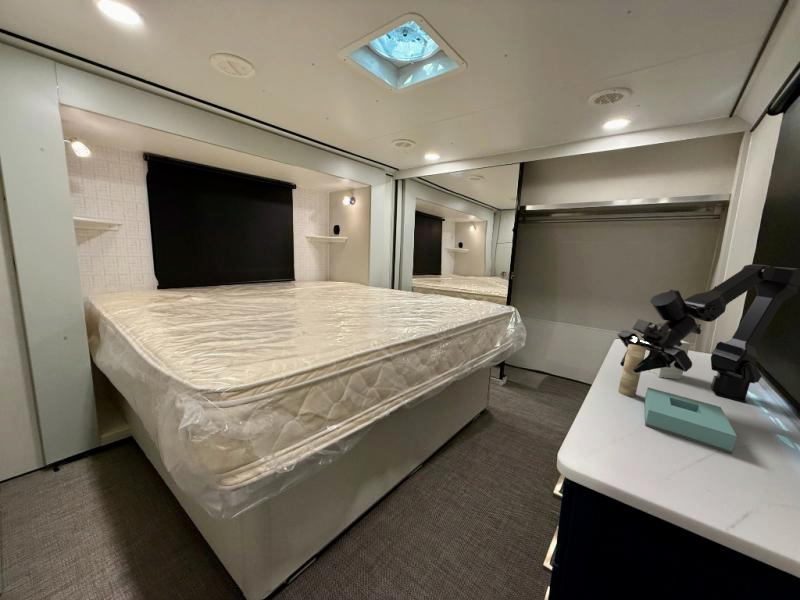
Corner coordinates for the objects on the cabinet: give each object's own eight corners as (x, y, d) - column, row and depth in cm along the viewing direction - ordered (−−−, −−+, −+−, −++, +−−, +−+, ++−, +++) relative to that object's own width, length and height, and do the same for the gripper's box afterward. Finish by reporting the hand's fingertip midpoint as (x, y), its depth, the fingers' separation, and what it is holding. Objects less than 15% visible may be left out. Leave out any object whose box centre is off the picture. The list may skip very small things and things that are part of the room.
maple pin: (635, 393, 88) (646, 346, 85) (635, 398, 85) (646, 350, 82) (618, 388, 90) (628, 343, 88) (617, 393, 87) (628, 346, 85)
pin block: (716, 421, 75) (720, 406, 74) (731, 453, 63) (736, 436, 62) (644, 400, 84) (647, 387, 83) (645, 425, 71) (648, 409, 70)
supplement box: (665, 370, 108) (673, 336, 106) (682, 379, 101) (691, 343, 99) (643, 368, 109) (650, 334, 107) (658, 377, 102) (666, 341, 99)
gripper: (629, 304, 93) (589, 337, 93) (693, 319, 74) (642, 361, 75) (647, 330, 95) (607, 362, 96) (713, 351, 77) (664, 391, 77)
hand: (627, 368), depth 86 cm, fingers open, 4 cm apart
